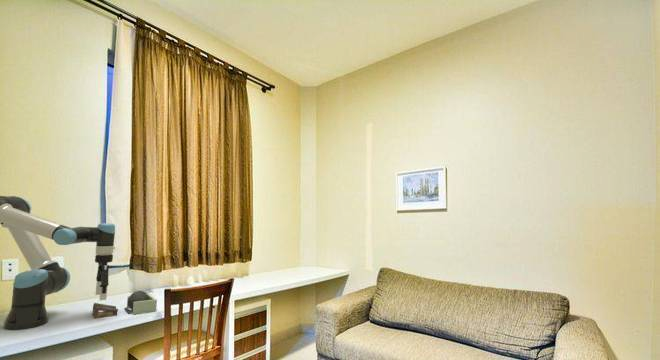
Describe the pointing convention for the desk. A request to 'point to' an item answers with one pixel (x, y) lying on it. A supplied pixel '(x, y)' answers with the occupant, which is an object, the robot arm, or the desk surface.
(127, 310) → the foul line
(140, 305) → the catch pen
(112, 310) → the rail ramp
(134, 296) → the decorative ball
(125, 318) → the desk surface
